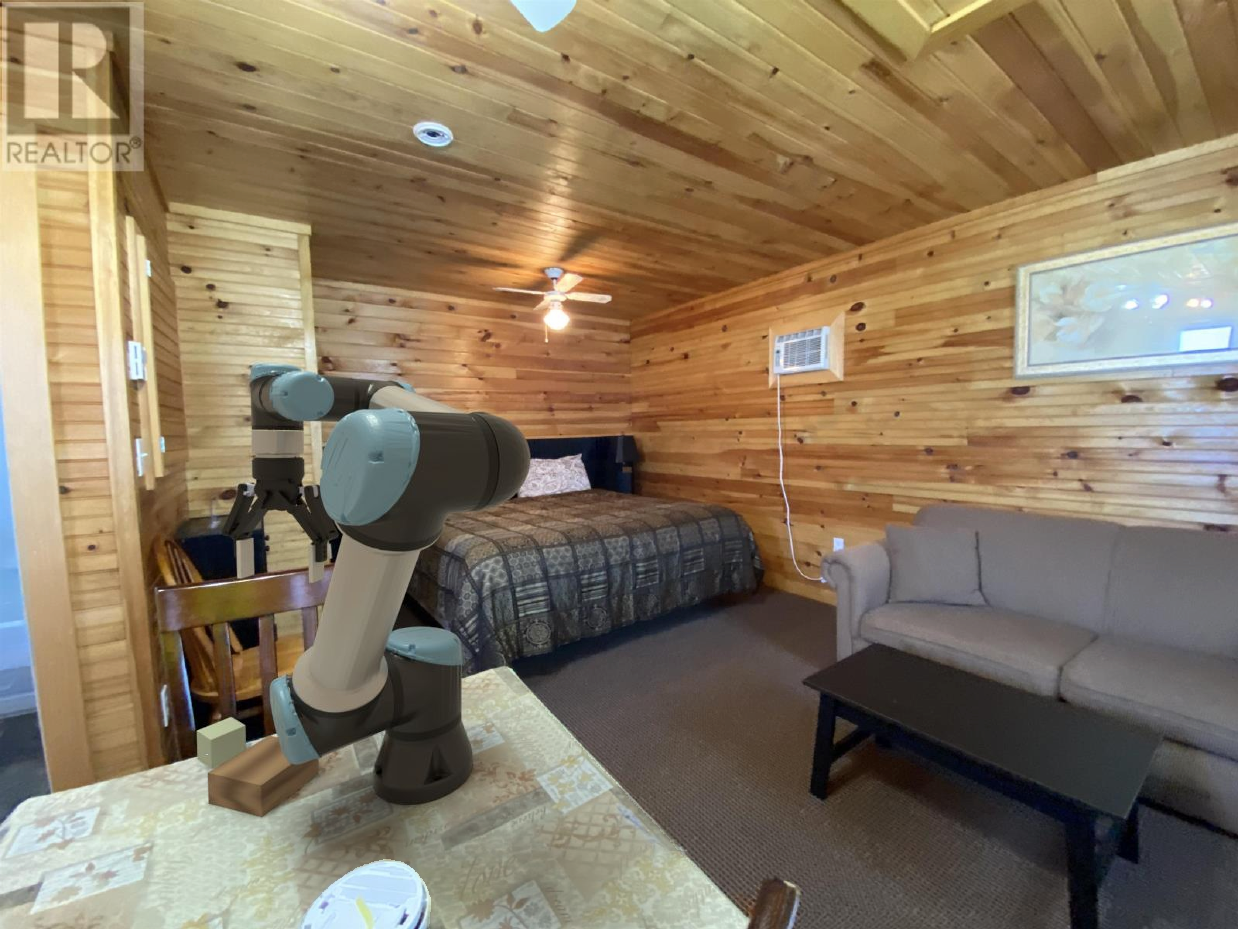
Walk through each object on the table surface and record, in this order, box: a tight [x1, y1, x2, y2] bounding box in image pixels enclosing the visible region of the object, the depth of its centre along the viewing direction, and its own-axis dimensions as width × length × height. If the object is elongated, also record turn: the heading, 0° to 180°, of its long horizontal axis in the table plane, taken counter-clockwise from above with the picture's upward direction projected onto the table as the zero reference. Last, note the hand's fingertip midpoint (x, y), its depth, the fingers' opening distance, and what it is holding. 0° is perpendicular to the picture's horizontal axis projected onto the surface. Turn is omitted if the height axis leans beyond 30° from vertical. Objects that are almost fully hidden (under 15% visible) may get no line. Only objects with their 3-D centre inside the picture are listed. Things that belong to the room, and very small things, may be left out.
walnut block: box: [207, 735, 320, 818], centre depth 80 cm, size 10×10×5 cm
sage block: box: [196, 716, 247, 770], centre depth 88 cm, size 5×5×5 cm
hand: (280, 578), depth 90 cm, fingers open, 13 cm apart
